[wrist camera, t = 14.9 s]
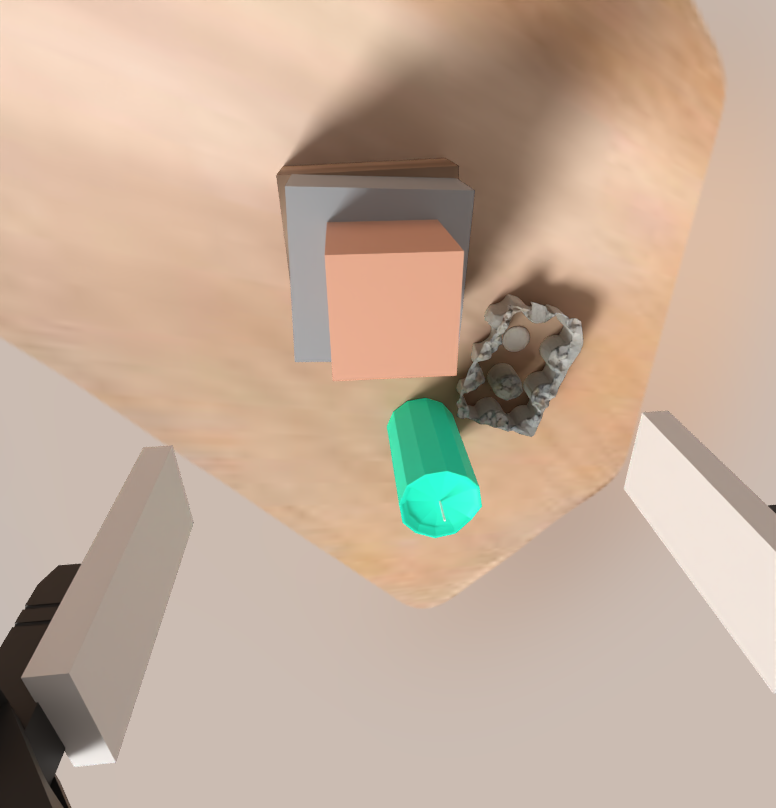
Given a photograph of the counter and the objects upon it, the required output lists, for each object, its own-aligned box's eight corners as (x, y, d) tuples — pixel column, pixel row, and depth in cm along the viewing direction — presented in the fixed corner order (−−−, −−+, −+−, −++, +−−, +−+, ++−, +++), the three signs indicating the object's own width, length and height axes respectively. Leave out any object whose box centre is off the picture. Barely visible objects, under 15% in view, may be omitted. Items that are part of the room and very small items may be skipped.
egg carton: (494, 283, 42) (509, 300, 38) (577, 311, 44) (599, 330, 40) (442, 399, 47) (451, 424, 43) (519, 420, 48) (534, 445, 45)
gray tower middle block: (291, 174, 32) (284, 186, 28) (456, 178, 33) (474, 190, 29) (299, 331, 37) (295, 362, 33) (443, 330, 38) (457, 360, 34)
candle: (403, 465, 49) (421, 563, 39) (375, 414, 47) (387, 506, 36) (464, 439, 49) (499, 533, 38) (439, 386, 46) (470, 472, 35)
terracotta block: (326, 222, 29) (324, 255, 23) (437, 219, 29) (464, 250, 23) (333, 327, 32) (332, 381, 26) (433, 323, 32) (456, 375, 26)
